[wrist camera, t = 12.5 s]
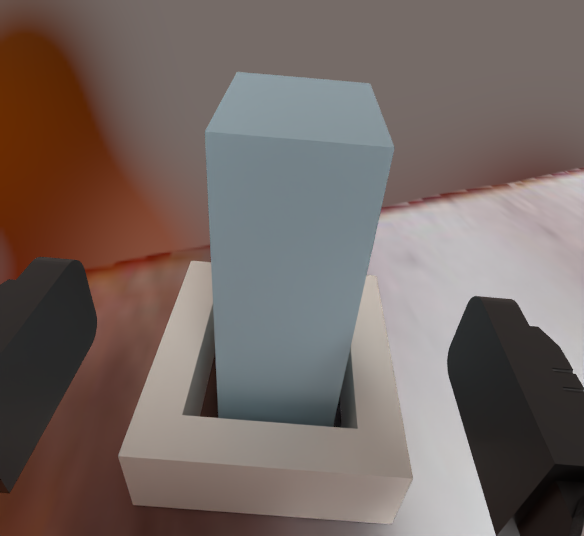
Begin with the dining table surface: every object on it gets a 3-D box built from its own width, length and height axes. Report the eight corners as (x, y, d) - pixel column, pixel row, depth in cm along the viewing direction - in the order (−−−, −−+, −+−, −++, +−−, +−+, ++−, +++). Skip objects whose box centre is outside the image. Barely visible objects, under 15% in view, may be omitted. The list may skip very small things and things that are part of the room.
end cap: (365, 322, 22) (376, 275, 21) (391, 524, 15) (412, 478, 13) (195, 308, 22) (191, 260, 21) (132, 504, 15) (117, 456, 13)
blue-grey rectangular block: (323, 354, 21) (370, 83, 13) (326, 454, 17) (394, 147, 9) (237, 347, 21) (237, 72, 13) (219, 447, 17) (204, 131, 9)
